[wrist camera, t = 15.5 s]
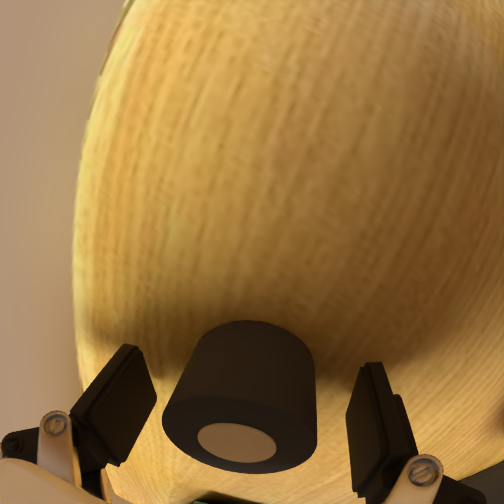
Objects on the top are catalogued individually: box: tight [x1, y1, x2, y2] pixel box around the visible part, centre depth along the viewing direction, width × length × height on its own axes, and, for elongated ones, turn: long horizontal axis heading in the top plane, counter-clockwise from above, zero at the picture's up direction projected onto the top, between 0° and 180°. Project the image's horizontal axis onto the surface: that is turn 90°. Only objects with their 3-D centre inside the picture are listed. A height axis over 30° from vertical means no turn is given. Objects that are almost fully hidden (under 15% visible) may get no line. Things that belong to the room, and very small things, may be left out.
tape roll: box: [162, 321, 317, 474], centre depth 9 cm, size 5×5×4 cm
